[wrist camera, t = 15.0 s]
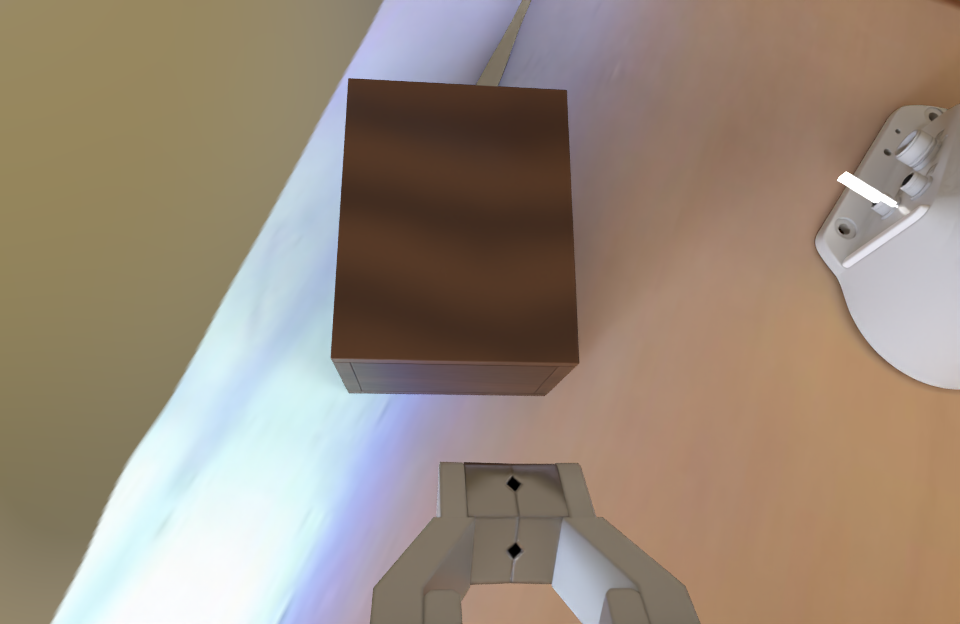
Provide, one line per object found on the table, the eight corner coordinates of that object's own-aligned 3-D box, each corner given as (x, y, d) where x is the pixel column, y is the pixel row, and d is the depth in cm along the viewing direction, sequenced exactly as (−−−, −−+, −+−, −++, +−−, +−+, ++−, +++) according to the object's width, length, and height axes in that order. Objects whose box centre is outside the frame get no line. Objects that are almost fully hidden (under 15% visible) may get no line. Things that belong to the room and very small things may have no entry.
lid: (349, 86, 40) (348, 78, 39) (564, 97, 41) (566, 89, 41) (332, 362, 35) (330, 358, 35) (576, 366, 36) (579, 363, 36)
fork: (436, 140, 50) (437, 126, 48) (552, -91, 57) (557, -110, 55) (477, 157, 50) (479, 144, 48) (588, -77, 57) (593, -95, 55)
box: (360, 172, 48) (348, 98, 40) (538, 179, 50) (564, 109, 41) (348, 393, 44) (332, 362, 35) (545, 396, 45) (575, 366, 36)
